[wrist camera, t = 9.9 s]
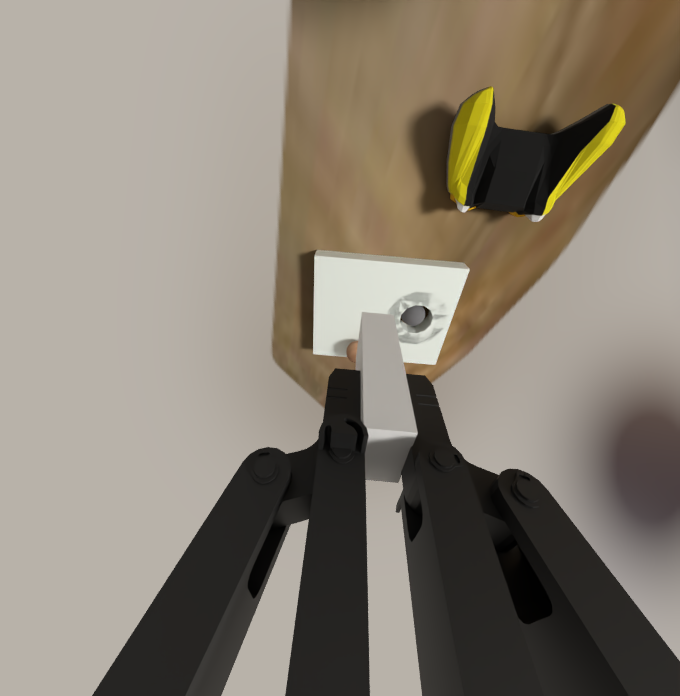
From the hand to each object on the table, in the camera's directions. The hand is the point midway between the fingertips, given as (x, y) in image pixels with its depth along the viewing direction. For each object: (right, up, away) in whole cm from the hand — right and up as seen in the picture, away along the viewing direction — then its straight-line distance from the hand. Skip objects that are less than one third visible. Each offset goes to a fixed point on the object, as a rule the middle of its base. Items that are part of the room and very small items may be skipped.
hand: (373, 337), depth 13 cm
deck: (+5, +5, +28) cm, 29 cm away
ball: (+9, +4, +27) cm, 28 cm away
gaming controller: (+17, +20, +17) cm, 31 cm away
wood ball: (+1, -1, +28) cm, 28 cm away
